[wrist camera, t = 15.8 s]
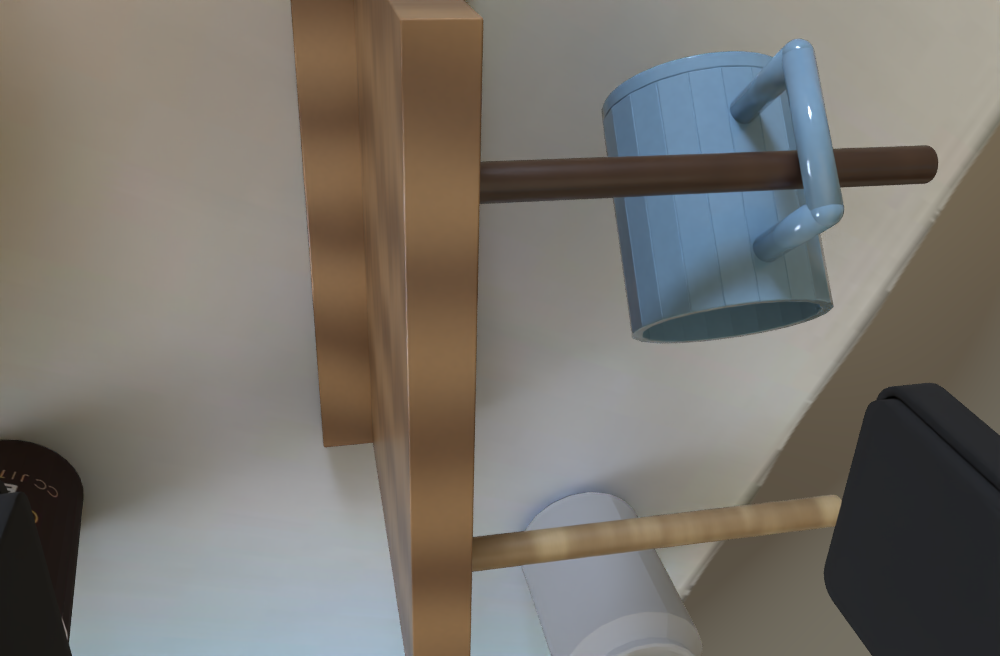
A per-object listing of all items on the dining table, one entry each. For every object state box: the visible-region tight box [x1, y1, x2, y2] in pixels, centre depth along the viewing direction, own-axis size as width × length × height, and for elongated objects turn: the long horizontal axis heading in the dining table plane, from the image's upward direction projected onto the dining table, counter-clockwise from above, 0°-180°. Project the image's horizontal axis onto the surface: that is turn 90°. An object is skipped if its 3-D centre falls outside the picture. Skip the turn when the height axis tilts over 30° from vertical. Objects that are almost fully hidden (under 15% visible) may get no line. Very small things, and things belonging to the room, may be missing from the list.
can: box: [522, 492, 703, 656], centre depth 50 cm, size 8×8×12 cm
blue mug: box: [602, 39, 844, 343], centre depth 33 cm, size 12×7×9 cm
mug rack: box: [291, 0, 938, 656], centre depth 36 cm, size 24×20×18 cm
